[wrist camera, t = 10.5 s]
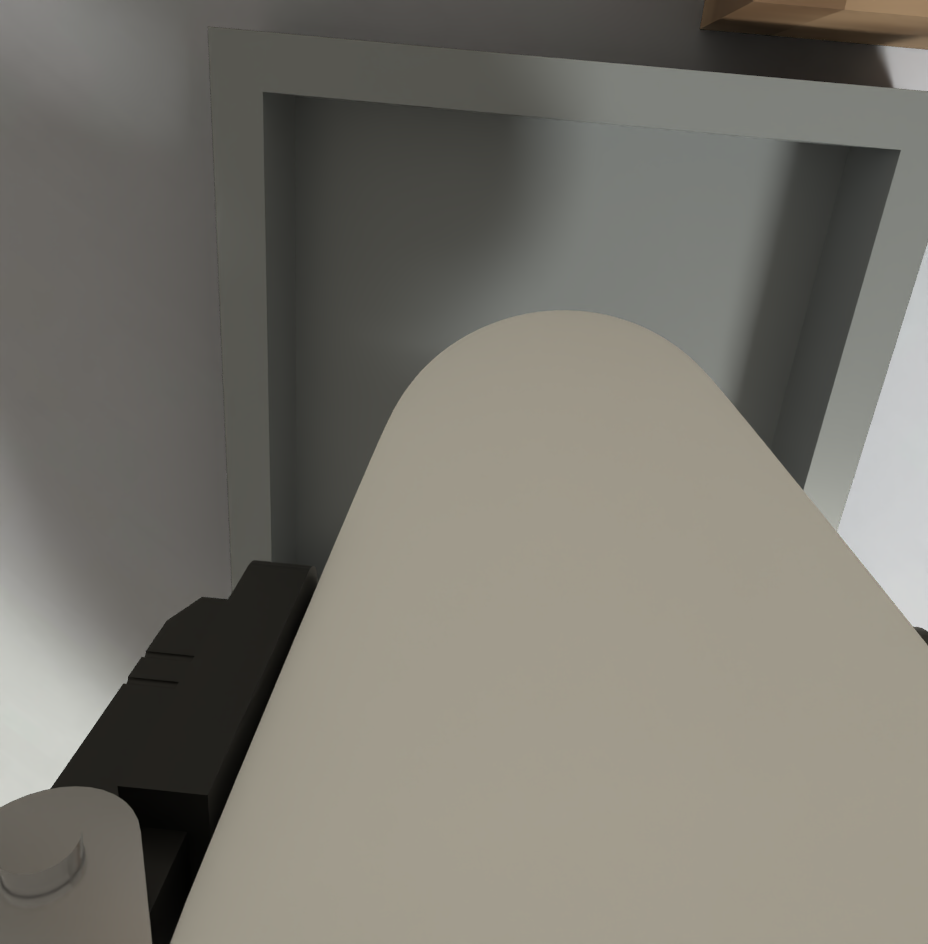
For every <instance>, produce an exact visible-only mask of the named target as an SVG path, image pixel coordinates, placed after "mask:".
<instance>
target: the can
mask: <svg viewBox="0 0 928 944" xmlns="http://www.w3.org/2000/svg"><path fill="white" fill-rule="evenodd" d="M170 944H928V645H927V644H926V643H925V641H924V640H923V639H922V638H921V636H920V635H919V634H918V633H917V631H916V630H915V629H914V628H913V626H912V625H911V624H910V623H909V621H908V620H907V619H906V618H905V616H904V615H903V614H902V613H901V611H900V610H899V609H898V608H897V606H896V605H895V604H894V603H893V601H892V600H891V599H890V598H889V596H888V595H887V594H886V593H885V591H884V590H883V589H882V588H881V586H880V585H879V584H878V583H877V581H876V580H875V579H874V578H873V576H872V575H871V574H870V573H869V571H868V570H867V569H866V568H865V567H864V565H863V564H862V563H861V562H860V560H859V559H858V558H857V557H856V555H855V554H854V553H853V552H852V550H851V549H850V548H849V547H848V545H847V544H846V543H845V542H844V540H843V539H842V538H841V537H840V535H839V534H838V533H837V532H836V531H835V529H834V528H833V527H832V526H831V524H830V523H829V522H828V521H827V519H826V518H825V517H824V516H823V514H822V513H821V512H820V511H819V509H818V508H817V507H816V506H815V504H814V503H813V502H812V501H811V500H810V498H809V497H808V496H807V495H806V493H805V492H804V491H803V490H802V488H801V487H800V486H799V485H798V483H797V482H796V481H795V480H794V479H793V477H792V476H791V475H790V474H789V472H788V471H787V470H786V469H785V467H784V466H783V465H782V464H781V463H780V461H779V460H778V459H777V458H776V456H775V455H774V454H773V453H772V451H771V450H770V449H769V448H768V447H767V445H766V444H765V443H764V442H763V440H762V439H761V438H760V437H759V436H758V434H757V433H756V432H755V431H754V429H753V428H752V427H751V426H750V425H749V423H748V422H747V421H746V420H745V418H744V417H743V416H742V415H741V414H740V412H739V411H738V410H737V409H736V407H735V406H734V405H733V404H732V403H731V402H730V400H729V399H728V398H727V397H726V396H725V394H724V393H723V392H722V391H721V390H720V388H719V387H718V386H717V385H716V384H715V383H714V381H713V380H712V379H711V378H710V377H709V376H708V375H707V374H706V373H705V372H704V370H703V369H702V368H701V367H700V366H699V365H698V364H697V363H696V362H695V361H694V360H693V359H691V358H690V357H689V356H688V355H687V354H686V353H684V352H683V351H682V350H680V349H679V348H678V347H676V346H675V345H674V344H672V343H671V342H669V341H668V340H666V339H665V338H663V337H661V336H660V335H658V334H656V333H654V332H652V331H650V330H648V329H646V328H644V327H642V326H640V325H637V324H635V323H632V322H629V321H626V320H623V319H620V318H617V317H613V316H609V315H604V314H599V313H593V312H586V311H572V310H555V311H542V312H534V313H528V314H523V315H518V316H514V317H510V318H507V319H504V320H500V321H498V322H495V323H492V324H490V325H487V326H485V327H482V328H480V329H478V330H476V331H474V332H472V333H470V334H468V335H466V336H465V337H463V338H461V339H460V340H458V341H456V342H455V343H453V344H452V345H450V346H449V347H448V348H446V349H445V350H444V351H442V352H441V353H440V354H439V355H437V356H436V357H435V358H434V359H433V360H432V361H431V362H430V363H429V364H428V365H427V366H426V367H425V368H424V369H423V370H422V371H421V372H420V373H419V374H418V375H417V376H416V377H415V379H414V380H413V381H412V382H411V384H410V385H409V386H408V388H407V389H406V391H405V392H404V393H403V395H402V396H401V398H400V400H399V401H398V403H397V405H396V406H395V408H394V410H393V412H392V414H391V416H390V418H389V420H388V422H387V424H386V426H385V428H384V431H383V433H382V435H381V437H380V439H379V442H378V444H377V446H376V448H375V451H374V453H373V455H372V458H371V460H370V462H369V465H368V467H367V469H366V472H365V474H364V476H363V478H362V481H361V483H360V485H359V488H358V490H357V492H356V495H355V497H354V499H353V502H352V504H351V506H350V509H349V511H348V514H347V516H346V518H345V521H344V523H343V525H342V528H341V530H340V532H339V535H338V537H337V539H336V542H335V544H334V546H333V549H332V551H331V554H330V556H329V558H328V561H327V563H326V565H325V568H324V570H323V572H322V575H321V577H320V580H319V582H318V584H317V587H316V589H315V591H314V594H313V596H312V599H311V601H310V603H309V606H308V608H307V611H306V613H305V615H304V618H303V620H302V622H301V625H300V627H299V630H298V632H297V634H296V637H295V639H294V641H293V644H292V646H291V649H290V651H289V653H288V656H287V658H286V660H285V663H284V665H283V668H282V670H281V672H280V675H279V677H278V680H277V682H276V684H275V687H274V689H273V692H272V694H271V696H270V699H269V701H268V704H267V706H266V708H265V711H264V713H263V716H262V718H261V720H260V723H259V725H258V728H257V730H256V732H255V735H254V737H253V740H252V742H251V744H250V747H249V749H248V752H247V754H246V756H245V759H244V761H243V764H242V766H241V768H240V771H239V773H238V776H237V778H236V780H235V783H234V785H233V788H232V790H231V793H230V795H229V797H228V800H227V802H226V805H225V807H224V810H223V812H222V815H221V817H220V819H219V822H218V824H217V827H216V829H215V832H214V834H213V837H212V839H211V841H210V844H209V846H208V849H207V851H206V854H205V856H204V859H203V861H202V864H201V866H200V868H199V871H198V873H197V876H196V878H195V881H194V883H193V886H192V888H191V890H190V893H189V895H188V898H187V900H186V903H185V905H184V908H183V910H182V913H181V916H180V918H179V921H178V924H177V926H176V929H175V931H174V934H173V937H172V939H171V942H170Z"/></svg>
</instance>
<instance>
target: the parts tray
mask: <svg viewBox="0 0 928 944" xmlns="http://www.w3.org/2000/svg"><path fill="white" fill-rule="evenodd" d="M208 47H209V70H210V94H211V117H212V140H213V163H214V186H215V209H216V233H217V256H218V279H219V302H220V325H221V349H222V372H223V395H224V418H225V441H226V464H227V488H228V511H229V534H230V557H231V580H232V592H233V590H234V589H235V587H236V585H237V584H238V582H239V580H240V578H241V577H242V575H243V573H244V572H245V570H246V568H247V567H248V565H249V564H250V563H251V562H252V561H253V560H259V561H269V562H279V563H289V564H299V565H309V566H315V568H316V571H317V578H318V582H319V580H320V577H321V575H322V572H323V570H324V568H325V565H326V563H327V561H328V558H329V556H330V554H331V551H332V549H333V546H334V544H335V542H336V539H337V537H338V535H339V532H340V530H341V528H342V525H343V523H344V521H345V518H346V516H347V514H348V511H349V509H350V506H351V504H352V502H353V499H354V497H355V495H356V492H357V490H358V488H359V485H360V483H361V481H362V478H363V476H364V474H365V472H366V469H367V467H368V465H369V462H370V460H371V458H372V455H373V453H374V451H375V448H376V446H377V444H378V442H379V439H380V437H381V435H382V433H383V431H384V428H385V426H386V424H387V422H388V420H389V418H390V416H391V414H392V412H393V410H394V408H395V406H396V405H397V403H398V401H399V400H400V398H401V396H402V395H403V393H404V392H405V391H406V389H407V388H408V386H409V385H410V384H411V382H412V381H413V380H414V379H415V377H416V376H417V375H418V374H419V373H420V372H421V371H422V370H423V369H424V368H425V367H426V366H427V365H428V364H429V363H430V362H431V361H432V360H433V359H434V358H435V357H436V356H437V355H439V354H440V353H441V352H442V351H444V350H445V349H446V348H448V347H449V346H450V345H452V344H453V343H455V342H456V341H458V340H460V339H461V338H463V337H465V336H466V335H468V334H470V333H472V332H474V331H476V330H478V329H480V328H482V327H485V326H487V325H490V324H492V323H495V322H498V321H500V320H504V319H507V318H510V317H514V316H518V315H523V314H528V313H534V312H542V311H555V310H572V311H586V312H593V313H599V314H604V315H609V316H613V317H617V318H620V319H623V320H626V321H629V322H632V323H635V324H637V325H640V326H642V327H644V328H646V329H648V330H650V331H652V332H654V333H656V334H658V335H660V336H661V337H663V338H665V339H666V340H668V341H669V342H671V343H672V344H674V345H675V346H676V347H678V348H679V349H680V350H682V351H683V352H684V353H686V354H687V355H688V356H689V357H690V358H691V359H693V360H694V361H695V362H696V363H697V364H698V365H699V366H700V367H701V368H702V369H703V370H704V372H705V373H706V374H707V375H708V376H709V377H710V378H711V379H712V380H713V381H714V383H715V384H716V385H717V386H718V387H719V388H720V390H721V391H722V392H723V393H724V394H725V396H726V397H727V398H728V399H729V400H730V402H731V403H732V404H733V405H734V406H735V407H736V409H737V410H738V411H739V412H740V414H741V415H742V416H743V417H744V418H745V420H746V421H747V422H748V423H749V425H750V426H751V427H752V428H753V429H754V431H755V432H756V433H757V434H758V436H759V437H760V438H761V439H762V440H763V442H764V443H765V444H766V445H767V447H768V448H769V449H770V450H771V451H772V453H773V454H774V455H775V456H776V458H777V459H778V460H779V461H780V463H781V464H782V465H783V466H784V467H785V469H786V470H787V471H788V472H789V474H790V475H791V476H792V477H793V479H794V480H795V481H796V482H797V483H798V485H799V486H800V487H801V488H802V490H803V491H804V492H805V493H806V495H807V496H808V497H809V498H810V500H811V501H812V502H813V503H814V504H815V506H816V507H817V508H818V509H819V511H820V512H821V513H822V514H823V516H824V517H825V518H826V519H827V521H828V522H829V523H830V524H831V526H832V527H833V528H834V529H835V531H836V532H837V529H838V526H839V523H840V520H841V517H842V513H843V510H844V507H845V504H846V501H847V497H848V494H849V491H850V488H851V485H852V482H853V478H854V475H855V472H856V469H857V466H858V462H859V459H860V456H861V453H862V450H863V446H864V443H865V440H866V437H867V434H868V431H869V427H870V424H871V421H872V418H873V415H874V411H875V408H876V405H877V402H878V399H879V396H880V392H881V389H882V386H883V383H884V380H885V376H886V373H887V370H888V367H889V364H890V360H891V357H892V354H893V351H894V348H895V345H896V341H897V338H898V335H899V332H900V329H901V325H902V322H903V319H904V316H905V313H906V309H907V306H908V303H909V300H910V297H911V294H912V290H913V287H914V284H915V281H916V278H917V274H918V271H919V268H920V265H921V262H922V259H923V255H924V252H925V249H926V246H927V243H928V91H918V90H907V89H896V88H885V87H874V86H863V85H852V84H840V83H829V82H818V81H807V80H796V79H785V78H774V77H763V76H752V75H740V74H729V73H718V72H707V71H696V70H685V69H674V68H663V67H652V66H641V65H629V64H618V63H607V62H596V61H585V60H574V59H563V58H552V57H541V56H530V55H518V54H507V53H496V52H485V51H474V50H463V49H452V48H441V47H430V46H418V45H407V44H396V43H385V42H374V41H363V40H352V39H341V38H330V37H319V36H307V35H296V34H285V33H274V32H263V31H252V30H241V29H230V28H219V27H208Z"/></svg>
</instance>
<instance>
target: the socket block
mask: <svg viewBox="0 0 928 944" xmlns="http://www.w3.org/2000/svg"><path fill="white" fill-rule="evenodd" d="M700 29H703V30H715V31H726V32H737V33H748V34H759V35H771V36H782V37H793V38H804V39H815V40H827V41H838V42H849V43H860V44H871V45H883V46H894V47H905V48H916V49H927V50H928V0H705V3H704V8H703V14H702V19H701V25H700Z"/></svg>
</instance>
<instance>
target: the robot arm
mask: <svg viewBox="0 0 928 944" xmlns="http://www.w3.org/2000/svg"><path fill="white" fill-rule="evenodd" d="M317 584H318V578H317V571H316V568H315V566H309V565H299V564H289V563H279V562H269V561H259V560H253V561H252V562H251V563H250V564H249V565H248V567H247V568H246V570H245V572H244V573H243V575H242V577H241V578H240V580H239V582H238V584H237V585H236V587H235V589H234V590H233V592H232V594H231V595H230V597H229V599H218V598H208V597H201V598H200V599H198V600H197V601H195V602H194V603H192V604H191V605H189V606H188V607H187V608H185V609H184V610H182V611H181V612H179V613H178V614H176V615H175V616H173V617H172V618H170V619H169V620H167V621H166V623H165V624H164V626H163V627H162V629H161V630H160V632H159V633H158V634H157V636H156V637H155V639H154V640H153V642H152V643H151V645H150V646H149V647H148V649H147V650H146V655H145V657H142V658H141V659H140V660H139V662H138V663H137V665H136V666H135V668H134V669H133V671H132V672H131V673H130V675H129V676H128V682H127V684H123V685H122V686H121V688H120V689H119V691H118V692H117V694H116V695H115V697H114V698H113V699H112V701H111V702H110V704H109V705H108V707H107V708H106V710H105V711H104V712H103V714H102V715H101V717H100V718H99V720H98V721H97V723H96V724H95V725H94V727H93V728H92V730H91V731H90V733H89V734H88V736H87V737H86V738H85V740H84V741H83V743H82V744H81V746H80V747H79V749H78V750H77V751H76V753H75V754H74V756H73V757H72V759H71V760H70V762H69V763H68V764H67V766H66V767H65V769H64V770H63V772H62V773H61V775H60V776H59V777H58V779H57V780H56V782H55V783H54V785H53V786H52V788H51V789H48V790H43V791H40V792H36V793H33V794H30V795H27V796H24V797H22V798H19V799H17V800H14V801H12V802H10V803H8V804H6V805H4V806H2V807H0V944H170V942H171V939H172V937H173V934H174V931H175V929H176V926H177V924H178V921H179V918H180V916H181V913H182V910H183V908H184V905H185V903H186V900H187V898H188V895H189V893H190V890H191V888H192V886H193V883H194V881H195V878H196V876H197V873H198V871H199V868H200V866H201V864H202V861H203V859H204V856H205V854H206V851H207V849H208V846H209V844H210V841H211V839H212V837H213V834H214V832H215V829H216V827H217V824H218V822H219V819H220V817H221V815H222V812H223V810H224V807H225V805H226V802H227V800H228V797H229V795H230V793H231V790H232V788H233V785H234V783H235V780H236V778H237V776H238V773H239V771H240V768H241V766H242V764H243V761H244V759H245V756H246V754H247V752H248V749H249V747H250V744H251V742H252V740H253V737H254V735H255V732H256V730H257V728H258V725H259V723H260V720H261V718H262V716H263V713H264V711H265V708H266V706H267V704H268V701H269V699H270V696H271V694H272V692H273V689H274V687H275V684H276V682H277V680H278V677H279V675H280V672H281V670H282V668H283V665H284V663H285V660H286V658H287V656H288V653H289V651H290V649H291V646H292V644H293V641H294V639H295V637H296V634H297V632H298V630H299V627H300V625H301V622H302V620H303V618H304V615H305V613H306V611H307V608H308V606H309V603H310V601H311V599H312V596H313V594H314V591H315V589H316V587H317ZM913 628H914V629H915V630H916V631H917V633H918V634H919V635H920V636H921V638H922V639H923V640H924V641H925V643H926V644H927V645H928V632H927V631H926V630H924V629H923V628H919V627H913Z"/></svg>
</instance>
